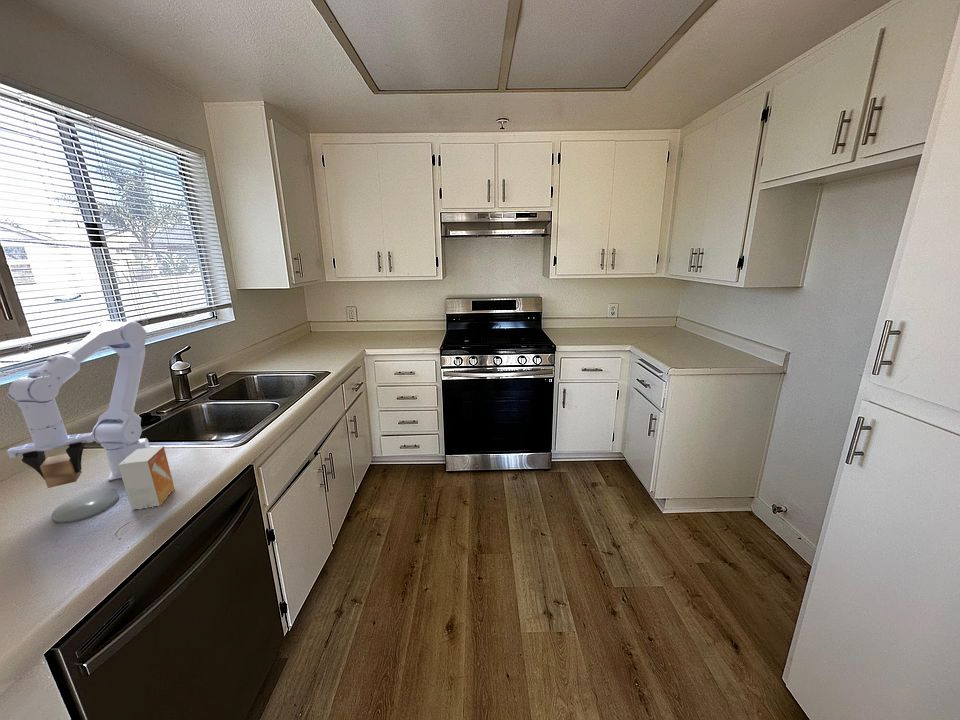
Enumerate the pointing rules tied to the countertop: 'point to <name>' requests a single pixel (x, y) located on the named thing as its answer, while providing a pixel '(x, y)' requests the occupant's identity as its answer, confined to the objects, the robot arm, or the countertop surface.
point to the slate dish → (85, 505)
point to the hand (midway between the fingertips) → (63, 474)
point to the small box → (146, 477)
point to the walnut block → (58, 470)
